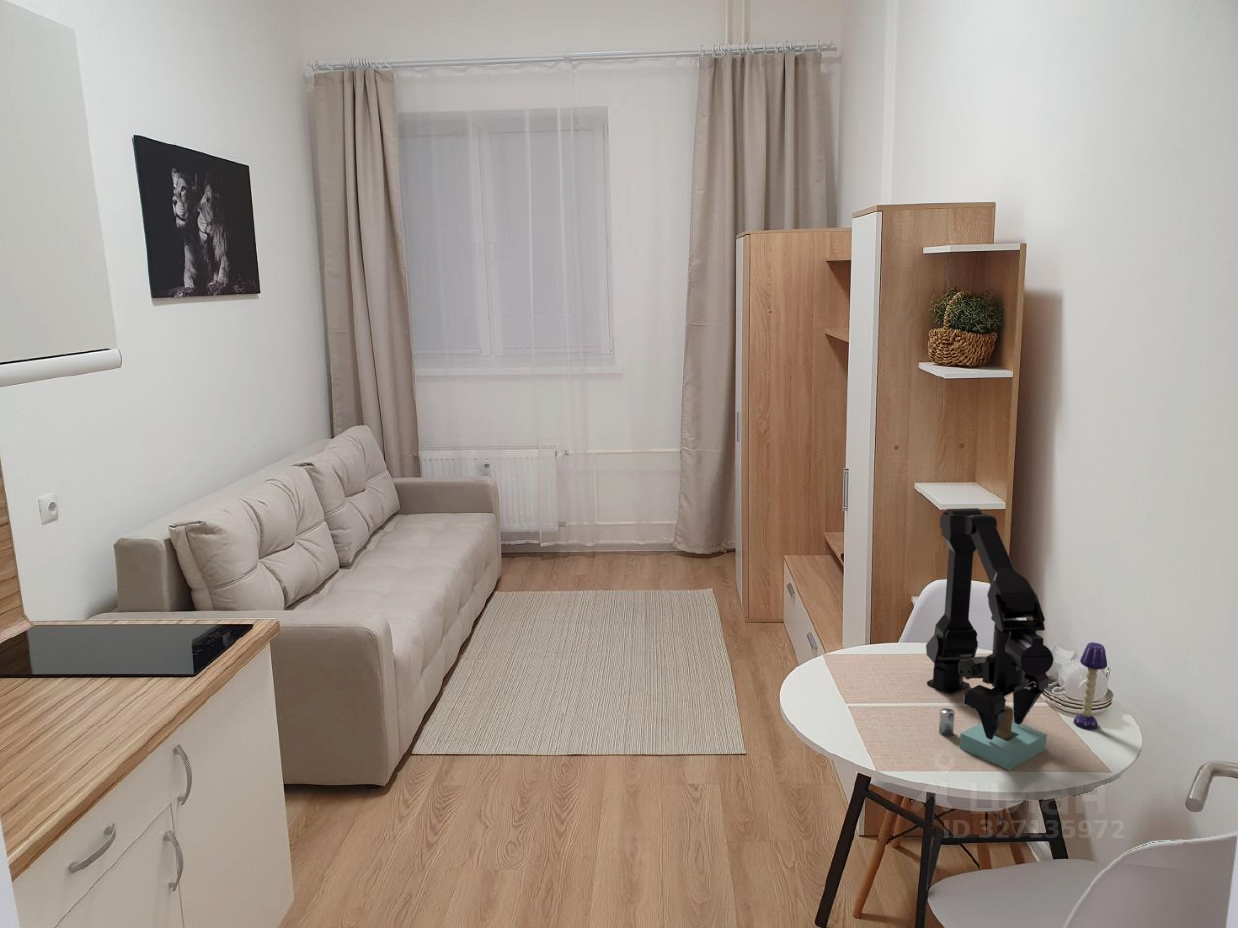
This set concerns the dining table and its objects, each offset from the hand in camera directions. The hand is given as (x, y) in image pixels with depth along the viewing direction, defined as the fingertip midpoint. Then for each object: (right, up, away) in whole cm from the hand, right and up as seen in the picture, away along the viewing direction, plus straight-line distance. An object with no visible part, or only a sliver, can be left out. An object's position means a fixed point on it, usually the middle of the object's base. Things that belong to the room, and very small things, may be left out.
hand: (1003, 730), depth 174 cm
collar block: (0, -3, +1) cm, 4 cm away
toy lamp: (+20, -2, +9) cm, 22 cm away
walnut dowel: (0, -3, +1) cm, 4 cm away
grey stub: (-8, -2, +7) cm, 11 cm away
